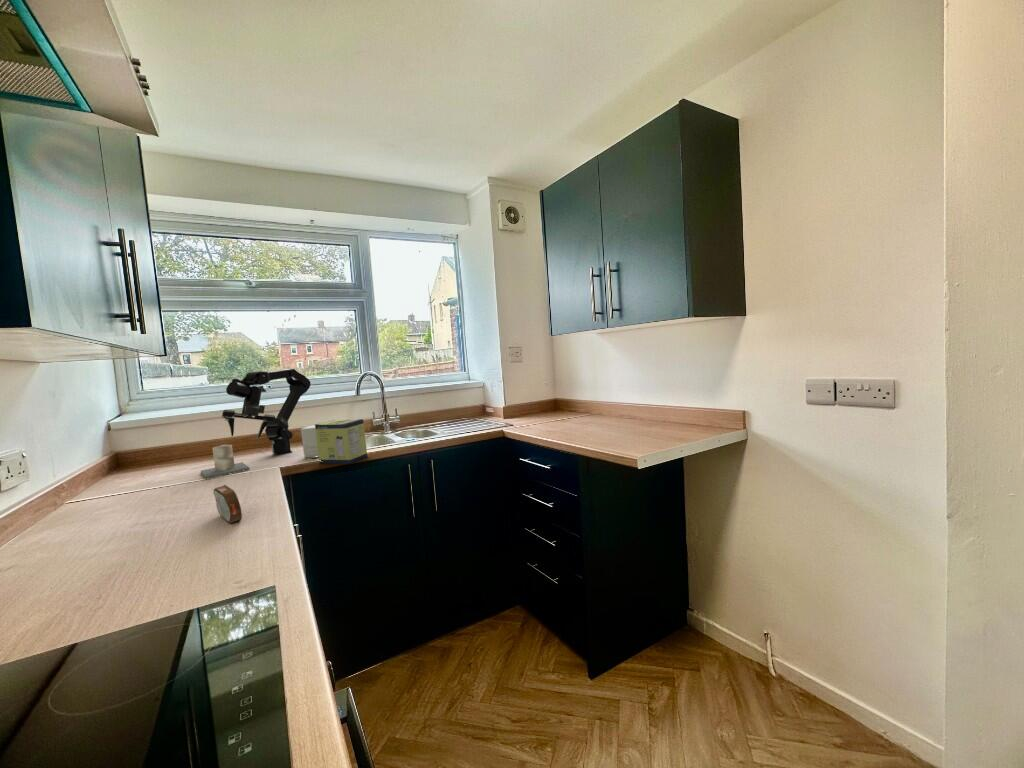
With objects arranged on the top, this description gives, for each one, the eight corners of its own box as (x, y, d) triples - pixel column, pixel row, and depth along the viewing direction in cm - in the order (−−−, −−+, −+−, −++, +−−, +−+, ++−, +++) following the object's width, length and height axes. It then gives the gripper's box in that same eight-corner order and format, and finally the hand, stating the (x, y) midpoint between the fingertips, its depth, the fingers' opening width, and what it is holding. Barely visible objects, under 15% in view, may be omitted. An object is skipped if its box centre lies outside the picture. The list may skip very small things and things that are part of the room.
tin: (244, 523, 109) (239, 491, 108) (229, 527, 107) (225, 495, 106) (228, 511, 119) (224, 481, 119) (215, 515, 117) (210, 485, 116)
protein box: (337, 456, 178) (333, 419, 177) (368, 456, 173) (364, 418, 171) (318, 463, 168) (313, 424, 167) (350, 464, 163) (345, 423, 162)
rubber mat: (242, 464, 177) (242, 462, 176) (249, 469, 166) (249, 467, 166) (201, 473, 167) (200, 470, 167) (205, 479, 157) (205, 476, 157)
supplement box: (329, 452, 186) (326, 424, 185) (320, 457, 179) (316, 427, 178) (313, 453, 187) (310, 425, 186) (303, 458, 179) (300, 428, 178)
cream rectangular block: (226, 467, 170) (223, 444, 169) (234, 467, 168) (231, 444, 167) (215, 470, 165) (212, 447, 164) (224, 470, 164) (221, 447, 163)
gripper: (227, 393, 168) (219, 433, 164) (280, 400, 179) (274, 437, 175) (225, 398, 177) (217, 435, 173) (275, 404, 188) (269, 440, 184)
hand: (245, 437), depth 176 cm, fingers open, 9 cm apart
